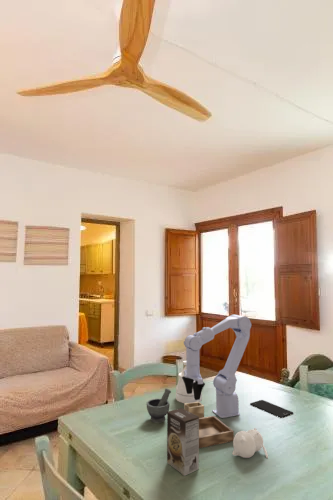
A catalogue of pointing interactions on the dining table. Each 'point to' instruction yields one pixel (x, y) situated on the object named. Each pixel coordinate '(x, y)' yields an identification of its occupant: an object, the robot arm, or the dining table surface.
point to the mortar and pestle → (159, 407)
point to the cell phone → (271, 408)
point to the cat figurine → (248, 443)
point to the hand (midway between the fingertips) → (193, 396)
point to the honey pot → (184, 390)
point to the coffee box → (183, 441)
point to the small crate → (195, 408)
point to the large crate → (213, 432)
